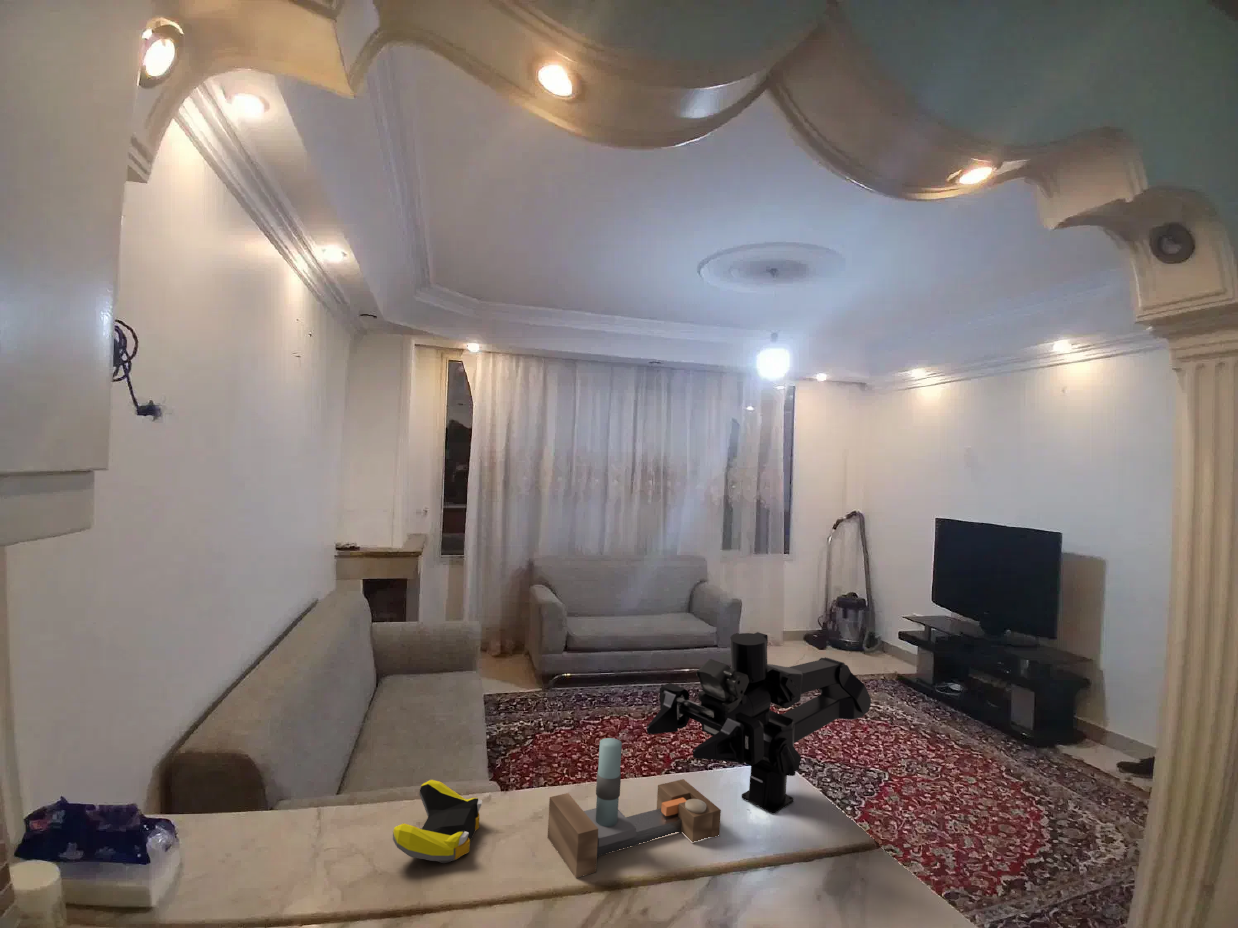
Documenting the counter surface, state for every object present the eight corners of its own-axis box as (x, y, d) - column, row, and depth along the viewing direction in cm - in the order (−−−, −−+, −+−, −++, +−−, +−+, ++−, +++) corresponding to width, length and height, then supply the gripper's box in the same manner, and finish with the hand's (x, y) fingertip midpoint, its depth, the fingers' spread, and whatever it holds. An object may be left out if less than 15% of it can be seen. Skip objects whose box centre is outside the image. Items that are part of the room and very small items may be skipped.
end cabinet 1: (566, 832, 97) (568, 792, 96) (595, 872, 88) (598, 828, 88) (547, 837, 95) (549, 796, 95) (575, 877, 86) (578, 833, 86)
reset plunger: (682, 806, 101) (683, 797, 101) (687, 810, 100) (688, 801, 100) (661, 811, 99) (661, 802, 99) (666, 816, 98) (666, 807, 98)
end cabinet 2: (682, 802, 107) (683, 775, 107) (719, 835, 98) (721, 806, 98) (656, 809, 104) (658, 781, 104) (692, 843, 95) (694, 813, 95)
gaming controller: (385, 872, 86) (460, 877, 86) (387, 831, 86) (462, 836, 85) (422, 809, 101) (486, 814, 101) (424, 775, 101) (487, 779, 100)
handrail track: (687, 813, 104) (688, 801, 103) (702, 826, 100) (703, 813, 100) (561, 846, 93) (562, 833, 93) (573, 862, 89) (574, 848, 89)
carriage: (612, 811, 99) (617, 729, 98) (635, 836, 92) (640, 749, 92) (577, 820, 96) (581, 736, 95) (598, 846, 90) (603, 756, 89)
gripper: (693, 641, 109) (624, 669, 98) (787, 673, 95) (718, 709, 84) (695, 704, 110) (627, 738, 100) (788, 745, 96) (720, 790, 86)
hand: (669, 741), depth 92 cm, fingers open, 9 cm apart
